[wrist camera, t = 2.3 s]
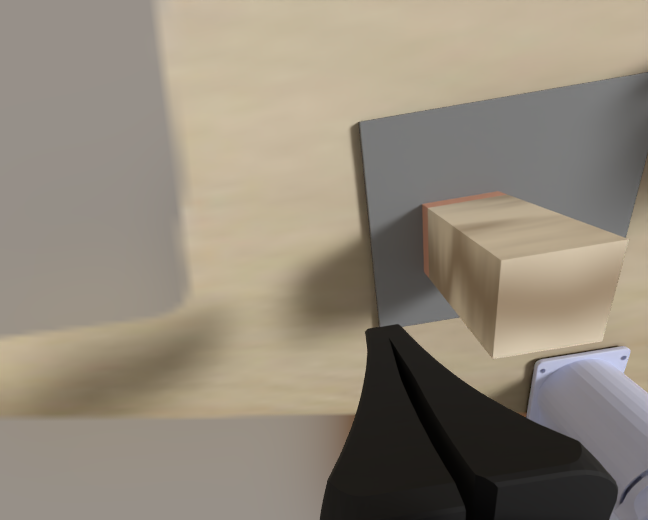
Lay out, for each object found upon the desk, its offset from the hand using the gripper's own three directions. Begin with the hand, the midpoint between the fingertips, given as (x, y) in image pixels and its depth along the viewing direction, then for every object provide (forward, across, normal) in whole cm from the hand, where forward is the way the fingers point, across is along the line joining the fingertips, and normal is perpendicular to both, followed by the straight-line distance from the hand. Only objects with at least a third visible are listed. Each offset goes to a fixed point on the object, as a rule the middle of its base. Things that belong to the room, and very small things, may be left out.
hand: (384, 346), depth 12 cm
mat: (+10, -10, 0) cm, 15 cm away
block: (+10, -8, 0) cm, 12 cm away
